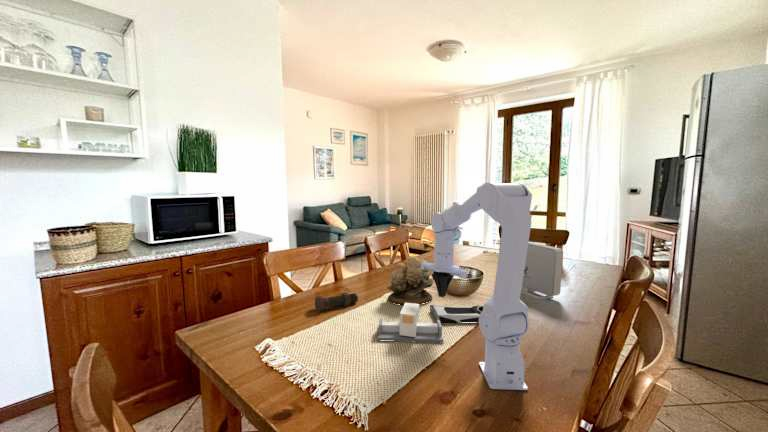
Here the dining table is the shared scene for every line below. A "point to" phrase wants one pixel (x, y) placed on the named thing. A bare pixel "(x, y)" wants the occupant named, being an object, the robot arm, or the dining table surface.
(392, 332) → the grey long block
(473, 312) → the graphics card
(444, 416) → the dining table surface
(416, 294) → the tan lumpy piece
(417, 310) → the block
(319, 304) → the bolt
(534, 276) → the network device
